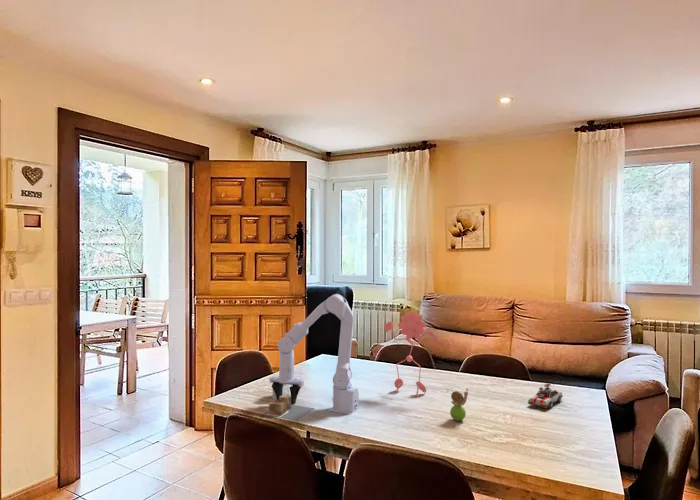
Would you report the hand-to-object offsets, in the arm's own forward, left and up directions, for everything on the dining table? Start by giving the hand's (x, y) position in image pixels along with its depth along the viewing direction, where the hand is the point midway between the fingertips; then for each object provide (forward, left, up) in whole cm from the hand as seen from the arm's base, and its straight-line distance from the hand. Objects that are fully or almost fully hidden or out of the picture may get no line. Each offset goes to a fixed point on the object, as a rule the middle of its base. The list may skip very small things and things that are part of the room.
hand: (286, 402), depth 177 cm
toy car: (-92, -46, -2) cm, 103 cm away
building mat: (-4, +4, -2) cm, 6 cm away
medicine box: (+8, -8, -2) cm, 12 cm away
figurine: (-39, -40, -2) cm, 56 cm away
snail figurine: (-64, -14, -2) cm, 65 cm away
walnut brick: (-1, +8, -1) cm, 8 cm away
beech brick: (0, 0, -1) cm, 1 cm away
